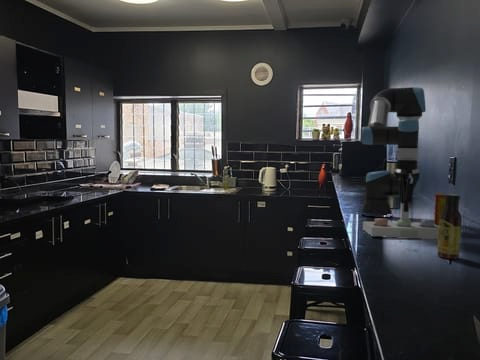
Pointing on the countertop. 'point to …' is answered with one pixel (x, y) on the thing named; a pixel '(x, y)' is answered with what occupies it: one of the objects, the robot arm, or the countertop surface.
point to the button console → (401, 230)
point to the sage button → (404, 223)
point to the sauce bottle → (450, 228)
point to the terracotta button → (381, 222)
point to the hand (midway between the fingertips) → (404, 219)
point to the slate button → (427, 223)
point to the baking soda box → (438, 206)
